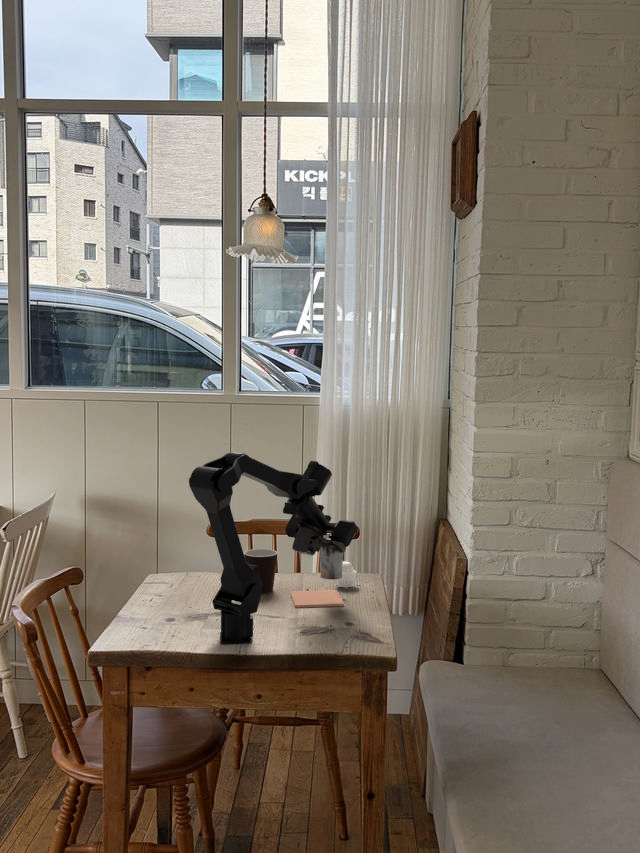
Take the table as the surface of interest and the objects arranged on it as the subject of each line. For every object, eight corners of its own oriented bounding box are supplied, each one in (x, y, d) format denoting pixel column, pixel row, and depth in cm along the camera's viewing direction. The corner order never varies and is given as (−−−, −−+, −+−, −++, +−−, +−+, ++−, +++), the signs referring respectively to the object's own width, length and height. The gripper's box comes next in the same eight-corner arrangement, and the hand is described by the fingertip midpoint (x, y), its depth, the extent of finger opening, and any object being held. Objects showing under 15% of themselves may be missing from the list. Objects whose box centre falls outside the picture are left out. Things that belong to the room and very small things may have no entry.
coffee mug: (272, 596, 211) (272, 557, 210) (239, 594, 213) (239, 555, 212) (283, 584, 223) (283, 547, 222) (252, 582, 224) (252, 545, 223)
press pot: (324, 580, 201) (324, 538, 200) (316, 574, 207) (317, 533, 206) (346, 578, 203) (347, 536, 202) (338, 572, 209) (338, 532, 208)
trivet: (295, 607, 202) (295, 605, 202) (290, 593, 214) (290, 591, 214) (343, 606, 203) (343, 603, 203) (336, 592, 215) (336, 590, 215)
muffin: (357, 584, 223) (357, 558, 223) (355, 590, 217) (356, 564, 217) (334, 583, 224) (334, 557, 223) (332, 589, 218) (332, 563, 217)
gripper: (261, 533, 198) (291, 569, 207) (323, 544, 186) (351, 582, 196) (283, 496, 203) (311, 533, 213) (344, 505, 192) (371, 544, 201)
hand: (334, 549), depth 206 cm, fingers closed on press pot, 5 cm apart
